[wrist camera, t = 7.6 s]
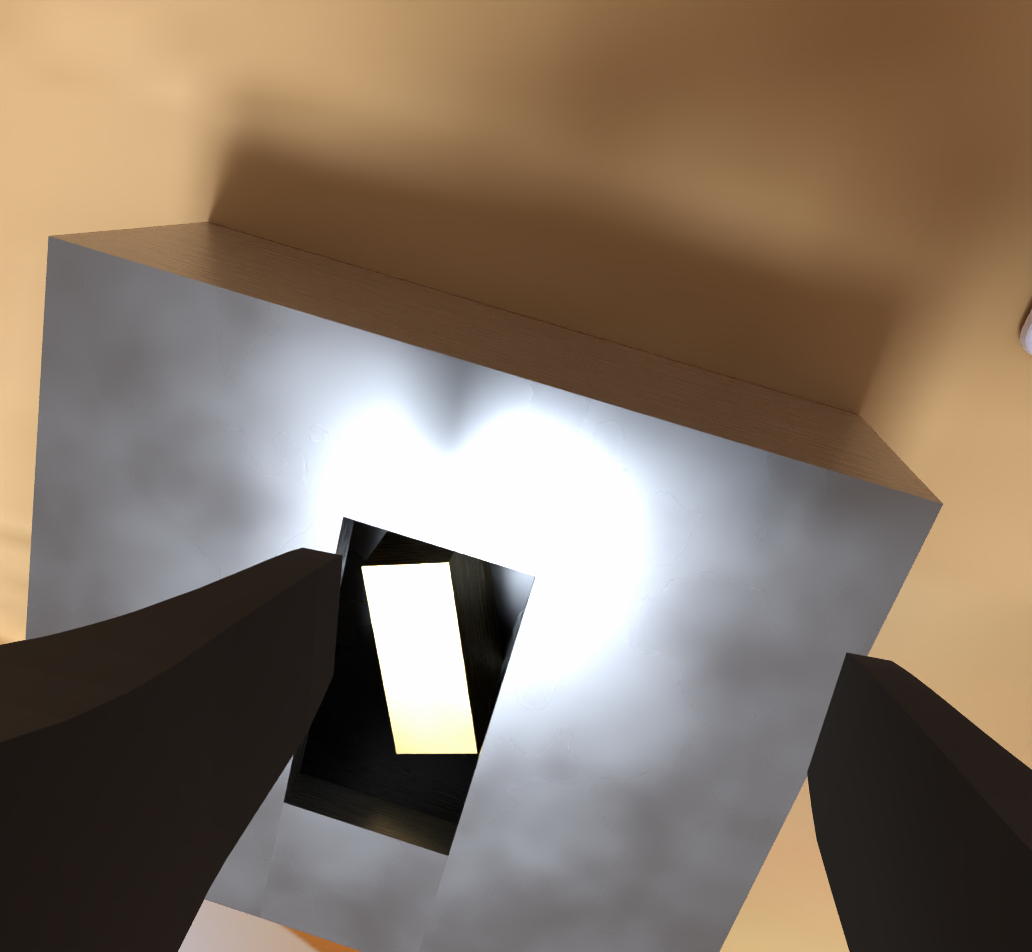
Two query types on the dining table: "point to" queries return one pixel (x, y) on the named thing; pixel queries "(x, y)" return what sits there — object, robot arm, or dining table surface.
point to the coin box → (514, 569)
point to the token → (434, 643)
